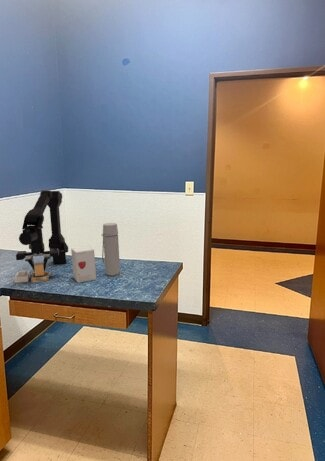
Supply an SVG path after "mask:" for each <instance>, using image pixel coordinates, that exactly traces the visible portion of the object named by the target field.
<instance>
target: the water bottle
mask: <svg viewBox="0 0 325 461" xmlns="http://www.w3.org/2000/svg"><path fill="white" fill-rule="evenodd" d="M101 237H102V255H101V257H102V258H101V259H102V264H104V268H105V269H104V271H105V274H106V275H107V276H117V275H119V274H120V272H121V266H120V264H121V263H120V261H121V260H120V249H119V248H120V244H119V230H118V224H117V223H116V222H106V223H103V224H102V233H101Z"/></svg>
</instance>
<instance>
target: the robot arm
mask: <svg viewBox="0 0 325 461" xmlns="http://www.w3.org/2000/svg"><path fill="white" fill-rule="evenodd" d="M62 203H63V193H61V192H60V190H41V191H40V193H39V196H38V199H37V200H36V202H35V204H34V207H33V208H32V209H30V210H28V212H27V213H26V214H25V216H24V218H23V219H24V220H23V223H22V227H21V229H22V233H20V234H19V235H18V236H19V237H18V240H19V242H20V244H21V245H23V246H28V249H29V250H30V252H27V251H26V250H23V251H22V250H21V251H19V250H18V251H17V252H16V254H15V260H16V261H25V262H28V263H29V265H30V267H31V268H32V270H33V273H35V269H34V265H35V261H34V257H40V256H43V262H44V271H45V272H46V268H47V264H48V261H49V260H50V259H51V258H52V263H53V264H54V266H55V265H63V264H67V261H68V260H67V254H66V253H69V245H68V244H67V243H66V240H65V239H66V238H65V237H64V235H63V234H62V229H61V217H60V216H61V215H60V206H61V205H62ZM47 207H48V208H49V216H50V217H49V218H50V229H51V231H50V232H51V236H50V237H49V238H48V249H49V250H46V249H45V243H44V239H43V238H44V237H43V236H44V235H43V229H44V227H43V223H44V221H45V216H44V212H45V210H46V208H47ZM45 250H46V251H45Z"/></svg>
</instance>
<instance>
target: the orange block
mask: <svg viewBox="0 0 325 461" xmlns="http://www.w3.org/2000/svg"><path fill="white" fill-rule="evenodd" d="M34 269H35V272H34V273H35V276H41V275H44V274H45V272H46V270H45V271H44V261H42V262H34Z"/></svg>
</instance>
